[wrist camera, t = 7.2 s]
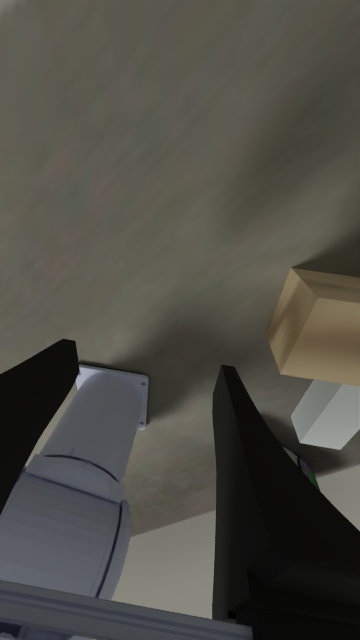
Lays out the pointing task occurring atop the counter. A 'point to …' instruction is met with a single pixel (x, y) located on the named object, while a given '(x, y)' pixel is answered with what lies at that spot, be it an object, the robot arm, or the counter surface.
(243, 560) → the robot arm
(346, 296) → the block
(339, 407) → the board
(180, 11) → the counter surface
